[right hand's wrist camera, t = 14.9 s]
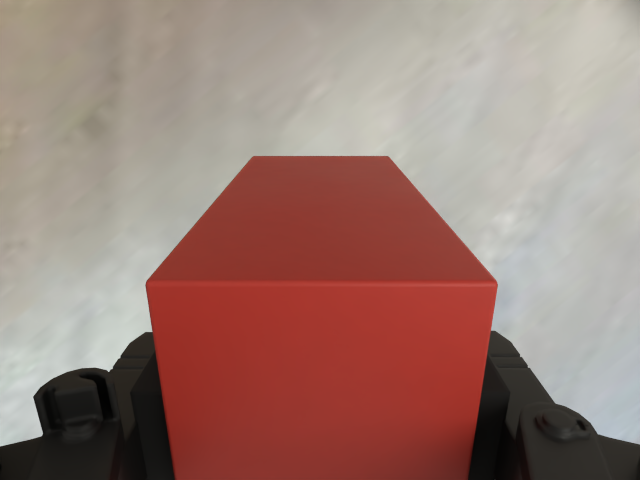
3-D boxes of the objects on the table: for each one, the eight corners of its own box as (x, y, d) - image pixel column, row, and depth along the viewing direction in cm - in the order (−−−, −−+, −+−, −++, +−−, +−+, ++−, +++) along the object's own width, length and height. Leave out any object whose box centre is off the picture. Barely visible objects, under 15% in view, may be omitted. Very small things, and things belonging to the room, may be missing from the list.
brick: (260, 324, 21) (192, 610, 10) (252, 155, 18) (142, 282, 7) (380, 325, 21) (449, 610, 10) (389, 155, 18) (501, 282, 7)
